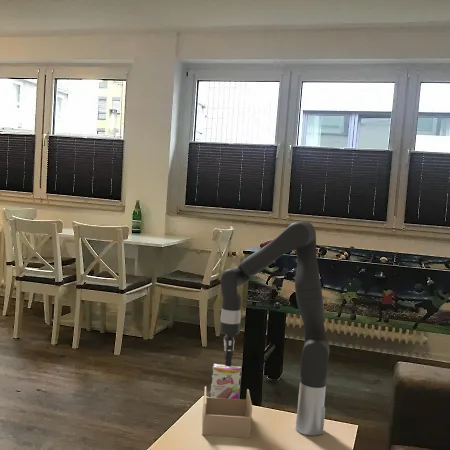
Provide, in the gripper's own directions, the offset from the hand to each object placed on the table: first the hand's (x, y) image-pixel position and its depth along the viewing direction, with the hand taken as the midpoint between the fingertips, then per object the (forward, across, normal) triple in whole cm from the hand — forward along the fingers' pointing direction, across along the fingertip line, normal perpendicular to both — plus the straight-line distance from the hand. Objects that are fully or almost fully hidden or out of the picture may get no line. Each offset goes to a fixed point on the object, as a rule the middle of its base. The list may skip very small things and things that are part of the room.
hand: (227, 362), depth 215 cm
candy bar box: (+18, 0, 0) cm, 18 cm away
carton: (+18, -16, 0) cm, 24 cm away
